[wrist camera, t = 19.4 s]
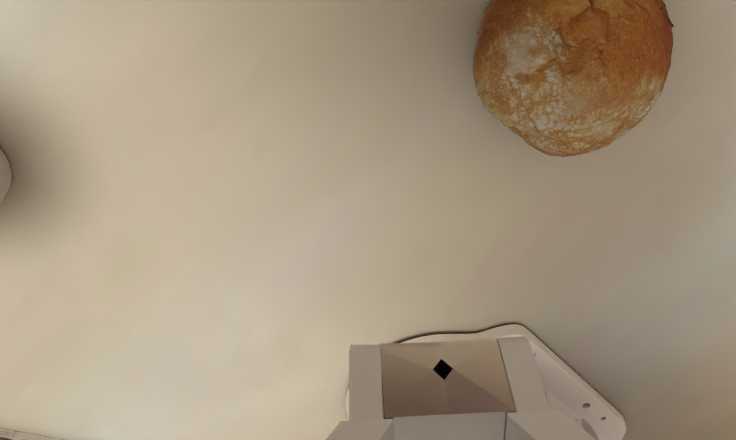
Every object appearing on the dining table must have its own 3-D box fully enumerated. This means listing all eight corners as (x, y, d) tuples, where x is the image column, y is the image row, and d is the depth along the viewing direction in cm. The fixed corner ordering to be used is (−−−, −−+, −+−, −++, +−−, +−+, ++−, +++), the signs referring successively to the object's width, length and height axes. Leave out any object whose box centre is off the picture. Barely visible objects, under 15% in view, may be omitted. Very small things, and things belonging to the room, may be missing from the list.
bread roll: (443, 25, 39) (421, 126, 35) (572, -112, 31) (565, -4, 27) (571, 107, 43) (565, 209, 38) (716, 2, 35) (731, 115, 30)
